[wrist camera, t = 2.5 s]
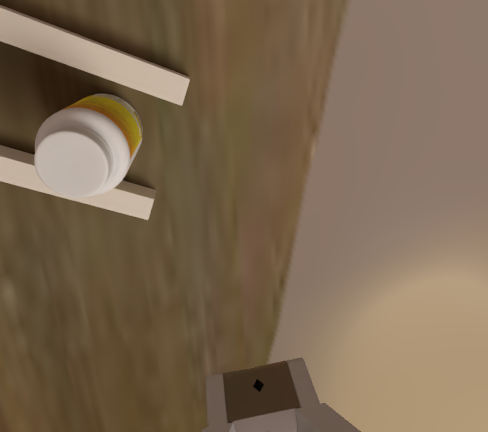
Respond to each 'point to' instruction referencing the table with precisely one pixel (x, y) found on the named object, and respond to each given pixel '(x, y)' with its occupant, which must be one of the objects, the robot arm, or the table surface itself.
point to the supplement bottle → (88, 146)
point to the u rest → (98, 63)
